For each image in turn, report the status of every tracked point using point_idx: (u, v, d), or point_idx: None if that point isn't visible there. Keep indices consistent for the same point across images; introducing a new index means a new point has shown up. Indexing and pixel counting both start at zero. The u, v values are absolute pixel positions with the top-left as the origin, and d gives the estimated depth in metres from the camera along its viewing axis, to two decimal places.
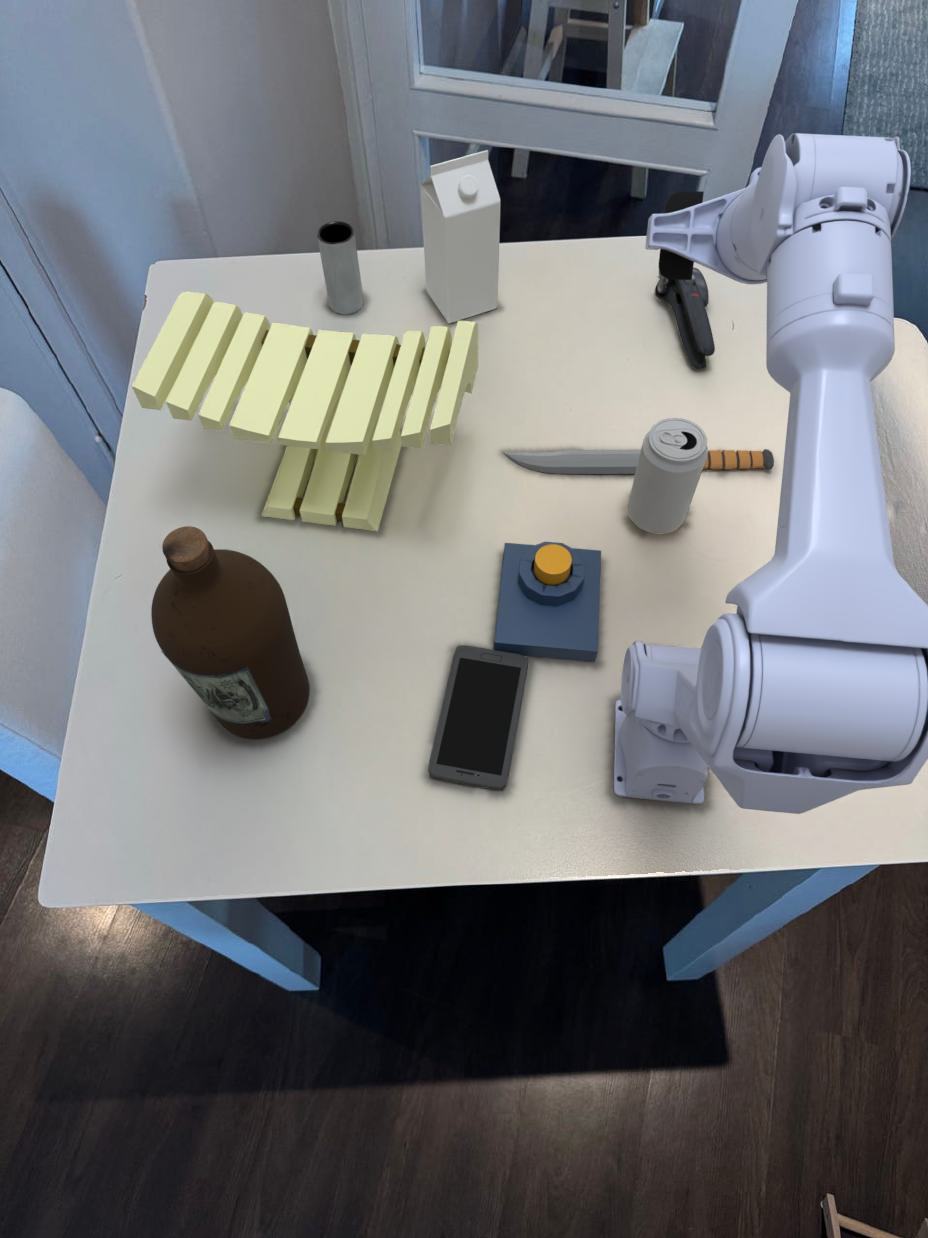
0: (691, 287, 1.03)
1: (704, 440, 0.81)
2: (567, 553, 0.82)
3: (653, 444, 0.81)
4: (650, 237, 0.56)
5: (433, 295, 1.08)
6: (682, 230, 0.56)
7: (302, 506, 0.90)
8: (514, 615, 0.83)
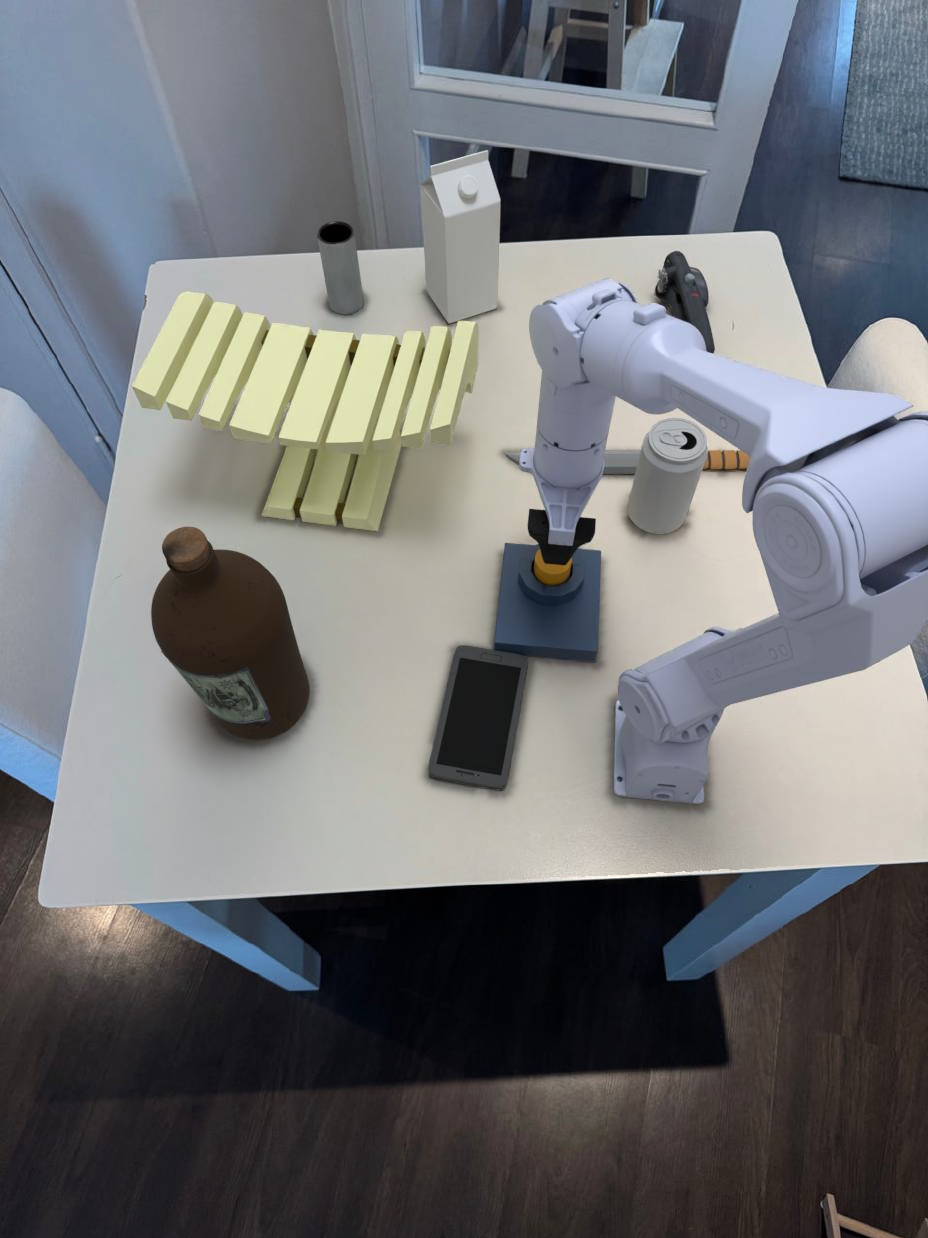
0: (691, 287, 1.03)
1: (704, 440, 0.81)
2: None
3: (653, 444, 0.81)
4: (568, 530, 0.66)
5: (433, 295, 1.08)
6: (563, 509, 0.67)
7: (302, 506, 0.90)
8: (514, 615, 0.83)
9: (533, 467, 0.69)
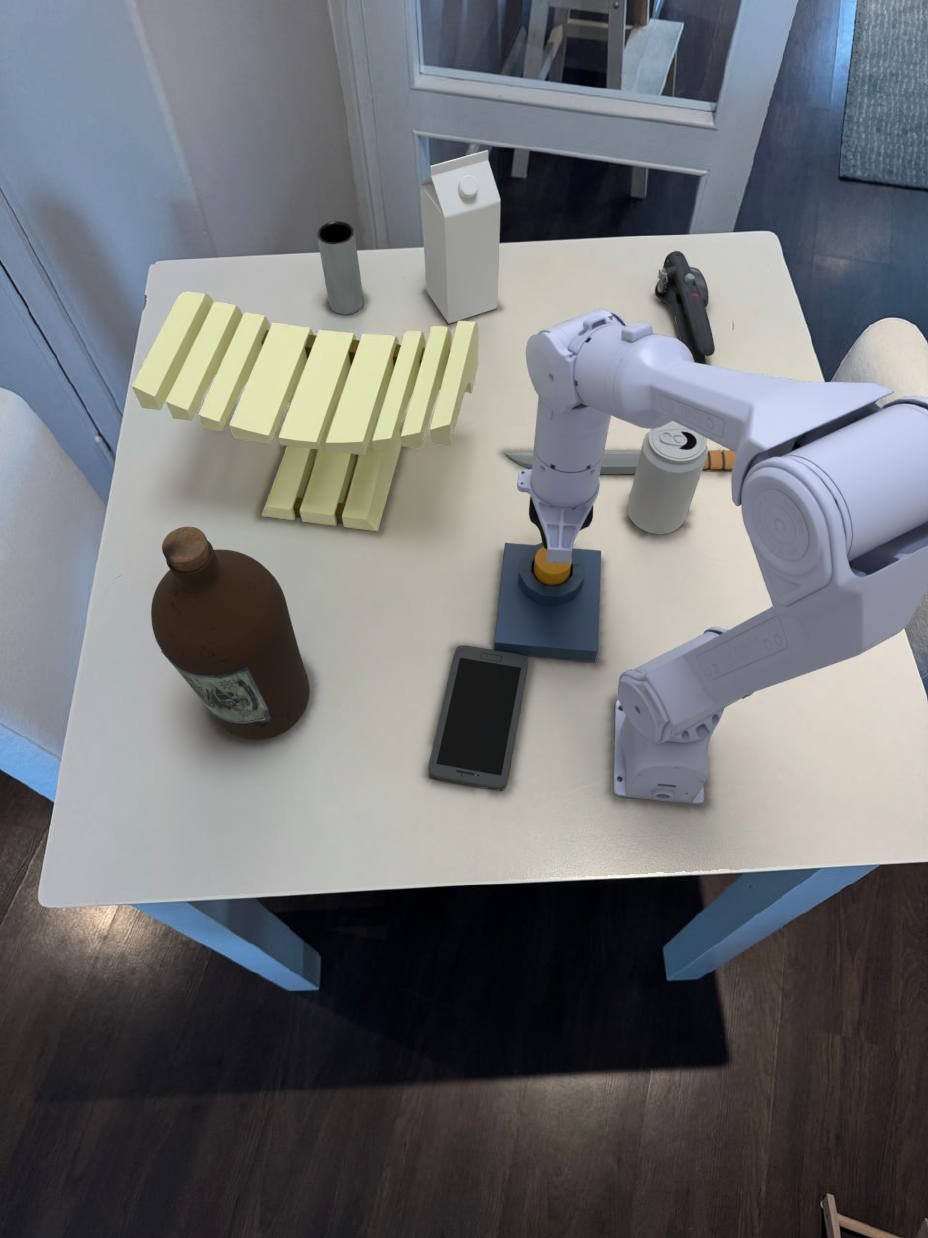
0: (691, 287, 1.03)
1: (704, 440, 0.81)
2: None
3: (653, 444, 0.81)
4: (565, 549, 0.68)
5: (433, 295, 1.08)
6: (560, 528, 0.69)
7: (302, 506, 0.90)
8: (514, 615, 0.83)
9: (531, 487, 0.71)
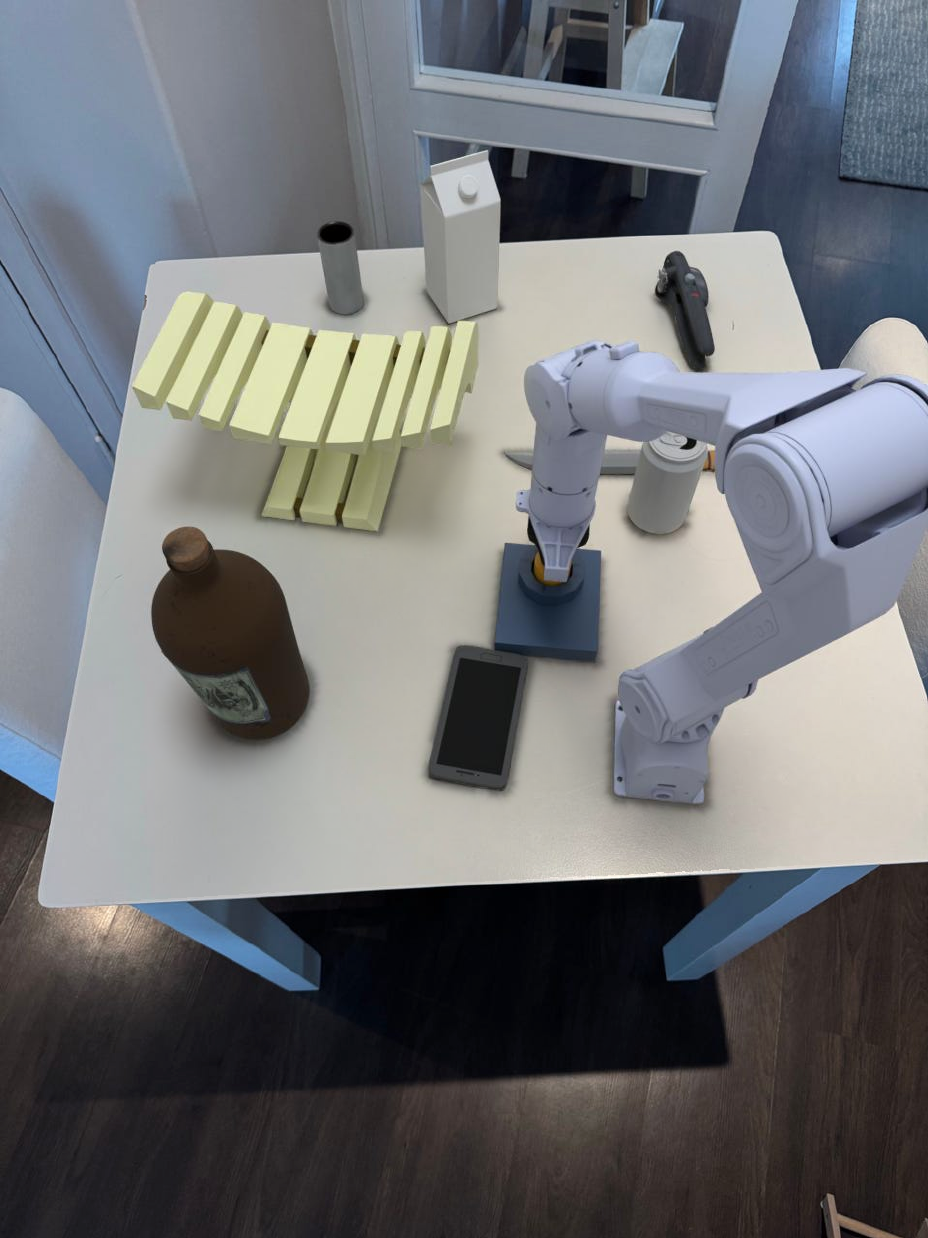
0: (691, 287, 1.03)
1: None
2: None
3: (653, 444, 0.81)
4: (562, 568, 0.71)
5: (433, 295, 1.08)
6: (558, 548, 0.72)
7: (302, 506, 0.90)
8: (514, 615, 0.83)
9: (529, 508, 0.74)
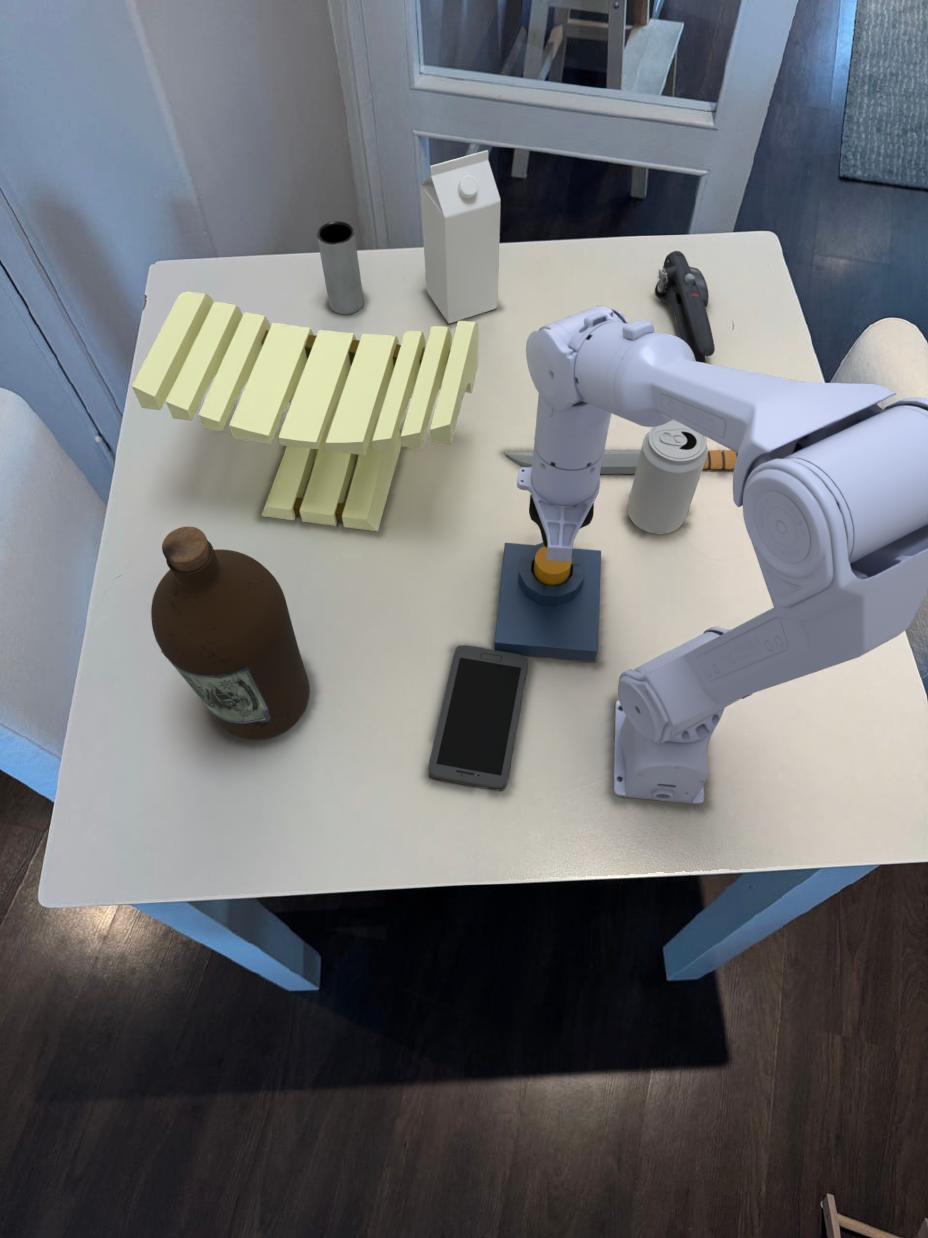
0: (691, 287, 1.03)
1: (704, 440, 0.81)
2: None
3: (653, 444, 0.81)
4: (566, 547, 0.68)
5: (433, 295, 1.08)
6: (561, 526, 0.69)
7: (302, 506, 0.90)
8: (514, 615, 0.83)
9: (531, 485, 0.71)
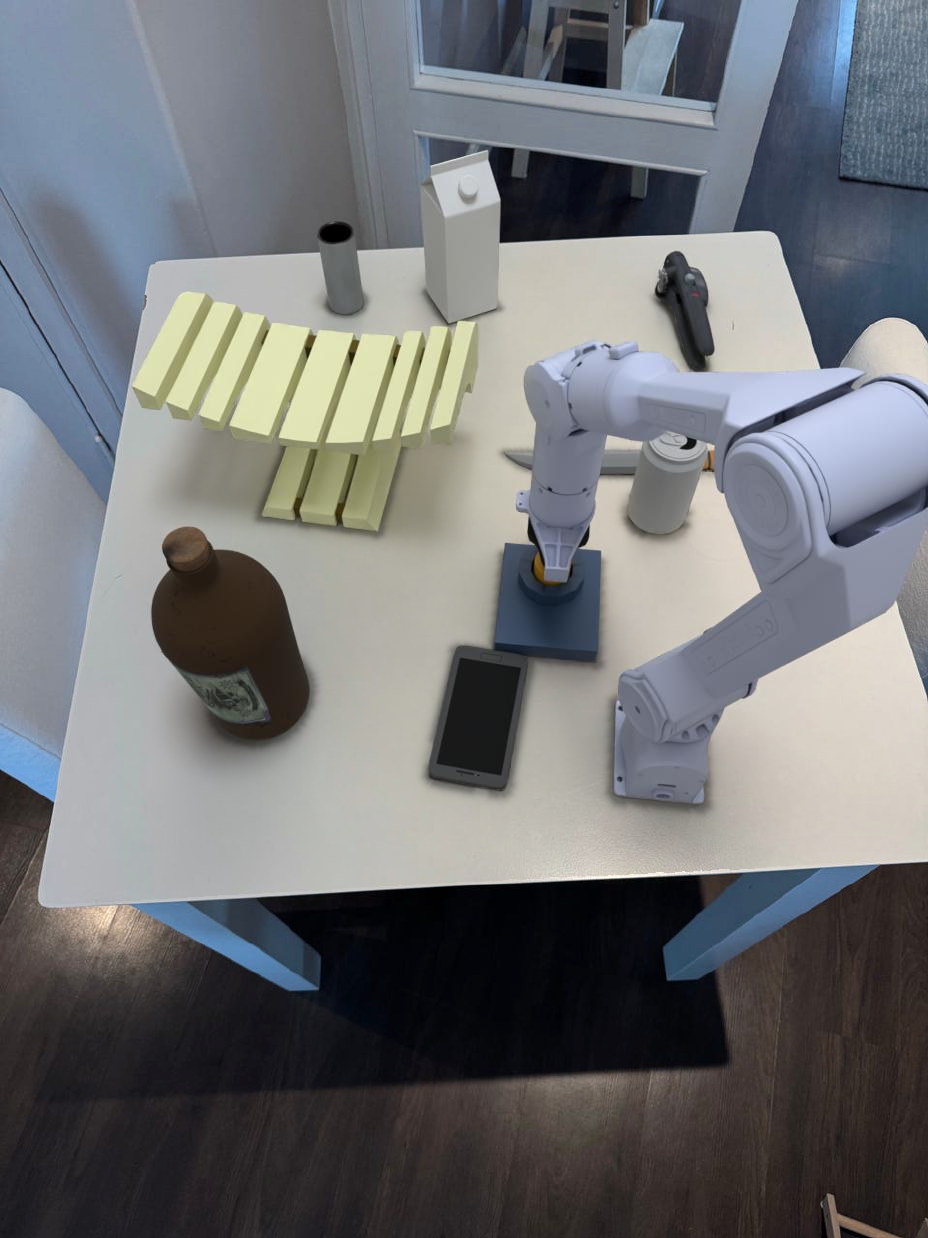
0: (691, 287, 1.03)
1: None
2: None
3: (653, 444, 0.81)
4: (562, 569, 0.71)
5: (433, 295, 1.08)
6: (558, 548, 0.72)
7: (302, 506, 0.90)
8: (514, 615, 0.83)
9: (529, 508, 0.74)
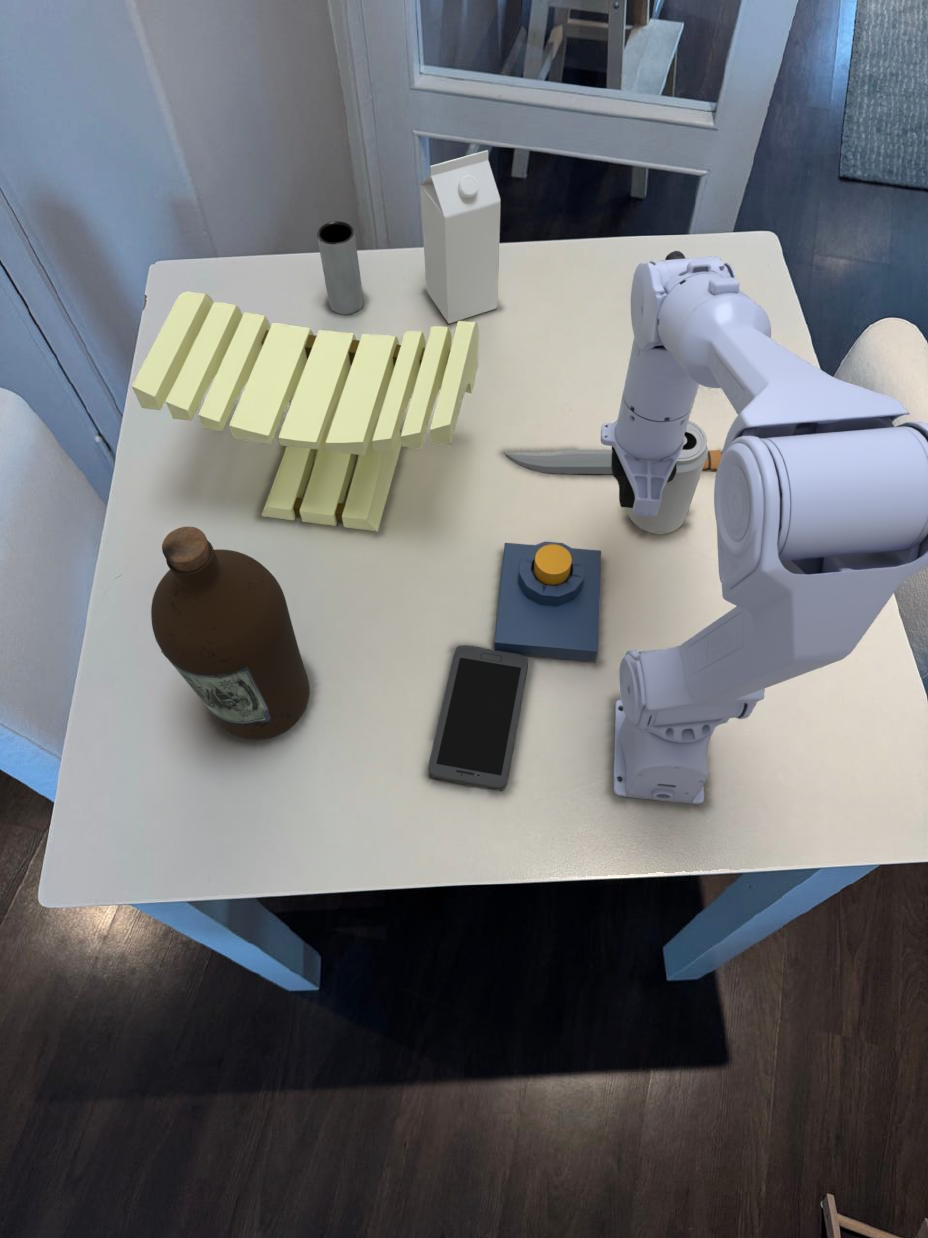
0: None
1: (704, 440, 0.81)
2: (567, 553, 0.82)
3: None
4: (655, 500, 0.68)
5: (433, 295, 1.08)
6: (648, 480, 0.69)
7: (302, 506, 0.90)
8: (514, 615, 0.83)
9: (615, 440, 0.71)
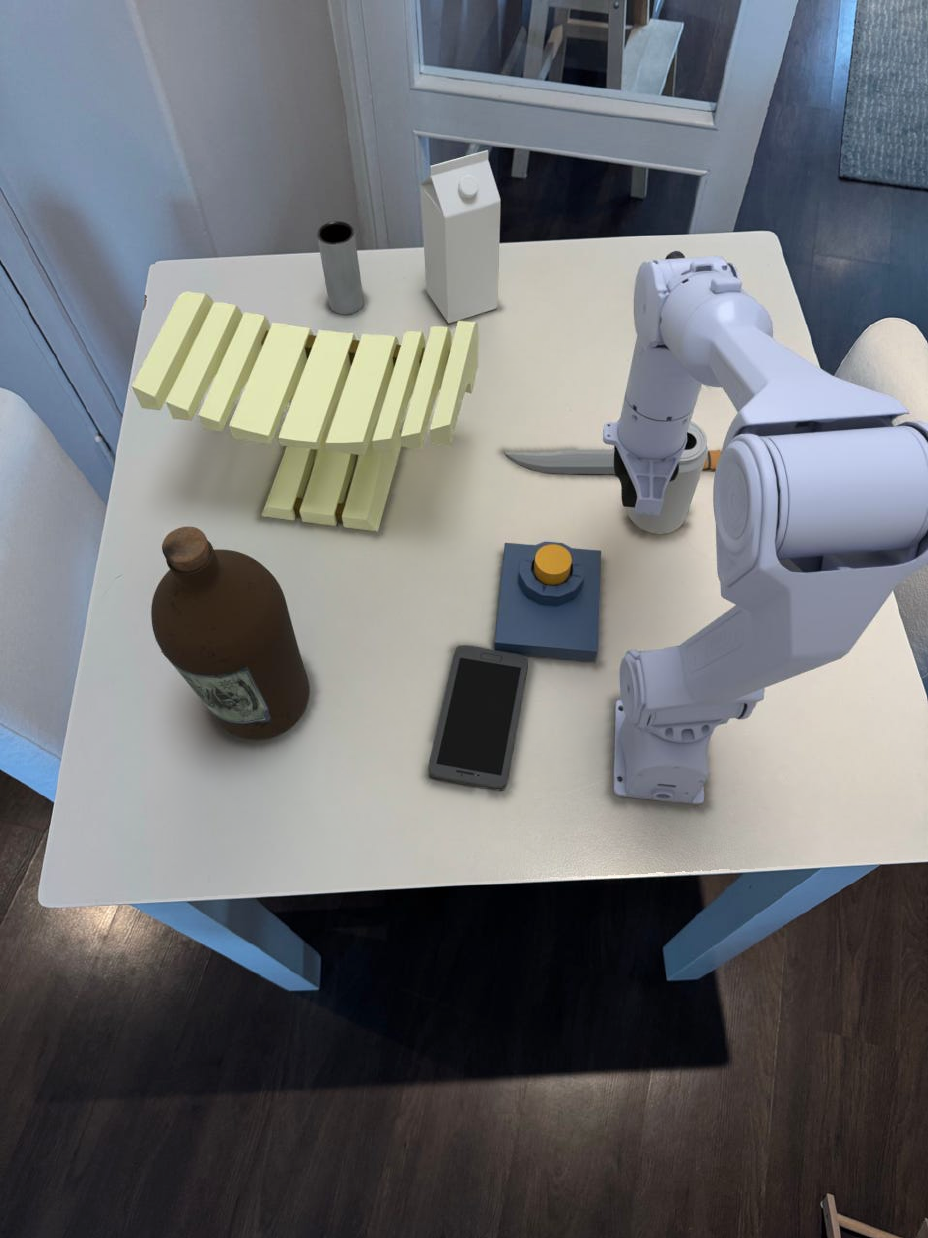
0: None
1: (704, 440, 0.81)
2: (567, 553, 0.82)
3: None
4: (657, 499, 0.68)
5: (433, 295, 1.08)
6: (651, 479, 0.69)
7: (302, 506, 0.90)
8: (514, 615, 0.83)
9: (618, 440, 0.71)
